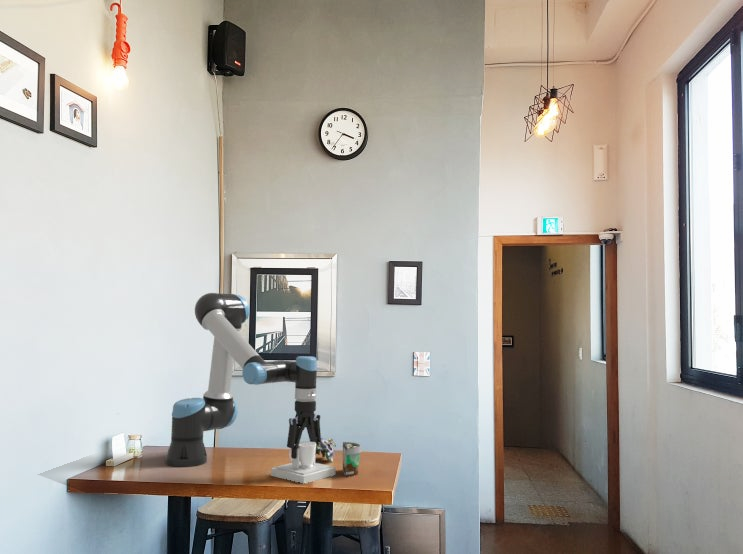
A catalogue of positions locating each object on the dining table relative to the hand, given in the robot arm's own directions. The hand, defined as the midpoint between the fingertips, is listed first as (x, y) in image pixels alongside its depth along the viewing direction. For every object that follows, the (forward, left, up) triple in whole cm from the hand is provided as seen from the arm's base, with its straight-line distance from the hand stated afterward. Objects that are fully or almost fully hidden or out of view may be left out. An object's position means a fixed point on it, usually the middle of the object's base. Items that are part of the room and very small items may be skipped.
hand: (303, 465), depth 212 cm
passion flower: (-10, +20, -4) cm, 23 cm away
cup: (0, -1, 0) cm, 1 cm away
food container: (+11, +14, -4) cm, 18 cm away
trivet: (0, 0, -3) cm, 3 cm away
